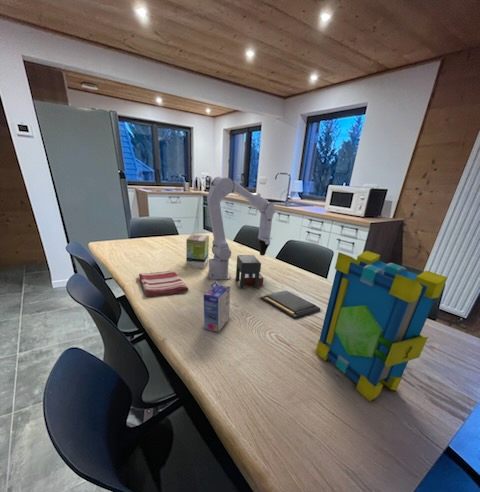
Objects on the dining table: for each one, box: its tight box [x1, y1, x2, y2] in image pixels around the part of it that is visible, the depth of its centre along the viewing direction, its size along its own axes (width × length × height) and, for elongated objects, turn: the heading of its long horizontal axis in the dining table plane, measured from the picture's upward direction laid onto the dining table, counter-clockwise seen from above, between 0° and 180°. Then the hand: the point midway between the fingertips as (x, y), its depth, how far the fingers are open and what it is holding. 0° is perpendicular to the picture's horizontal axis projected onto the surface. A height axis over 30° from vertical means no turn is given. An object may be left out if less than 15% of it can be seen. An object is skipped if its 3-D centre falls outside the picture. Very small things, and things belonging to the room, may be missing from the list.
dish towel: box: [138, 270, 189, 298], centre depth 115 cm, size 17×23×3 cm
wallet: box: [259, 290, 321, 319], centre depth 106 cm, size 20×2×15 cm
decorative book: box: [315, 250, 448, 402], centre depth 65 cm, size 14×23×30 cm, turn 24°
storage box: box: [244, 273, 264, 287], centre depth 123 cm, size 9×6×4 cm, turn 101°
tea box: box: [185, 233, 210, 269], centre depth 142 cm, size 15×10×15 cm, turn 179°
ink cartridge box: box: [203, 280, 231, 333], centre depth 86 cm, size 10×6×14 cm, turn 161°
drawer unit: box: [235, 254, 262, 290], centre depth 121 cm, size 10×12×12 cm
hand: (262, 255), depth 135 cm, fingers closed
